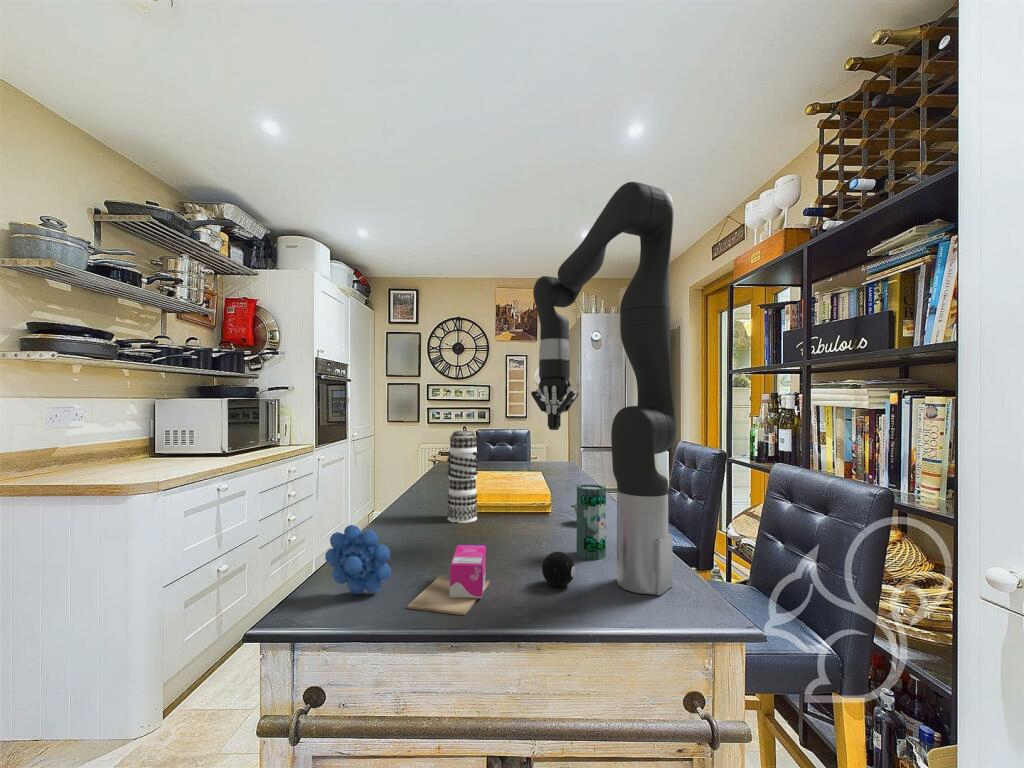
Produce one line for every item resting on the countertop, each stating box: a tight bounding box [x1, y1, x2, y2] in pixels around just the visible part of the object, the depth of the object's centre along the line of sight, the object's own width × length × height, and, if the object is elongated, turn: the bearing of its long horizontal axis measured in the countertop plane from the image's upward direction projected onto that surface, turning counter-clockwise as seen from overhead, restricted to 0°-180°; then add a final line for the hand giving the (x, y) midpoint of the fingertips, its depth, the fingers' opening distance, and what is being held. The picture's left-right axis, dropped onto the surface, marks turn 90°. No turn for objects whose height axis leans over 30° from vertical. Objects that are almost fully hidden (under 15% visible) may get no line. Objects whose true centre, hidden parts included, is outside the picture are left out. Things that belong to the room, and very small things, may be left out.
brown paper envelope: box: [406, 575, 491, 616], centre depth 84 cm, size 14×10×1 cm
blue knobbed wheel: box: [324, 524, 392, 596], centre depth 84 cm, size 12×7×12 cm, turn 89°
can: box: [576, 483, 607, 561], centre depth 107 cm, size 6×6×15 cm
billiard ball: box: [541, 551, 576, 587], centre depth 89 cm, size 6×6×6 cm
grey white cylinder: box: [446, 430, 480, 524], centre depth 138 cm, size 9×9×25 cm
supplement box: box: [449, 544, 487, 599], centre depth 87 cm, size 6×6×12 cm
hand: (554, 429), depth 117 cm, fingers closed
